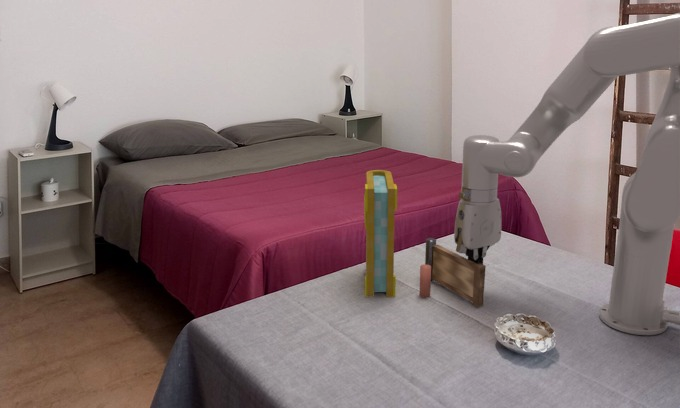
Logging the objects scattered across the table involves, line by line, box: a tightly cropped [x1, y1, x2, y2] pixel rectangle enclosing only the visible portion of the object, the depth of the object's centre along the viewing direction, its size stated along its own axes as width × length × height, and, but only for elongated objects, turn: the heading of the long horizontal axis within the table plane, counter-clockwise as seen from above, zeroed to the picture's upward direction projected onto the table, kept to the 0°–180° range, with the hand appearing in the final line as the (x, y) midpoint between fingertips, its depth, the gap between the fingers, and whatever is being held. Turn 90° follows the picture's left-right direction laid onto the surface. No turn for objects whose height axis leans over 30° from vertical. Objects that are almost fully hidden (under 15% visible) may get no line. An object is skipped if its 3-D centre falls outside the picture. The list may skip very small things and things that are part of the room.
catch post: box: [418, 263, 432, 299], centre depth 137 cm, size 2×2×7 cm
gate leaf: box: [432, 244, 487, 308], centre depth 137 cm, size 16×2×9 cm, turn 30°
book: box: [363, 169, 398, 298], centre depth 142 cm, size 17×7×25 cm, turn 179°
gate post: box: [424, 237, 437, 282], centre depth 145 cm, size 2×2×10 cm
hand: (474, 273), depth 137 cm, fingers closed
